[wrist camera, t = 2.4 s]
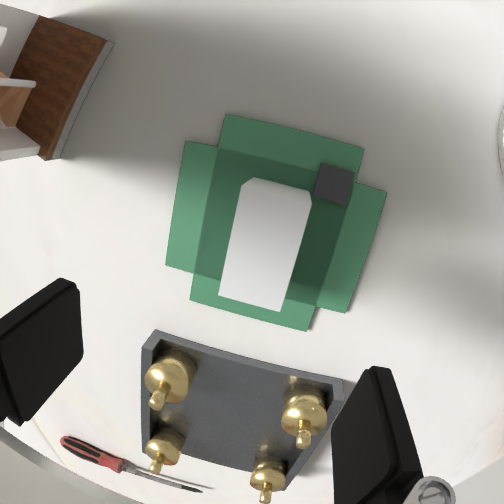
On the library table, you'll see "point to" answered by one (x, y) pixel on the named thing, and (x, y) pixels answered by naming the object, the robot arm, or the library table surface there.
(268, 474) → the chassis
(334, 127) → the library table surface
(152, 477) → the screwdriver
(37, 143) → the tall white box
